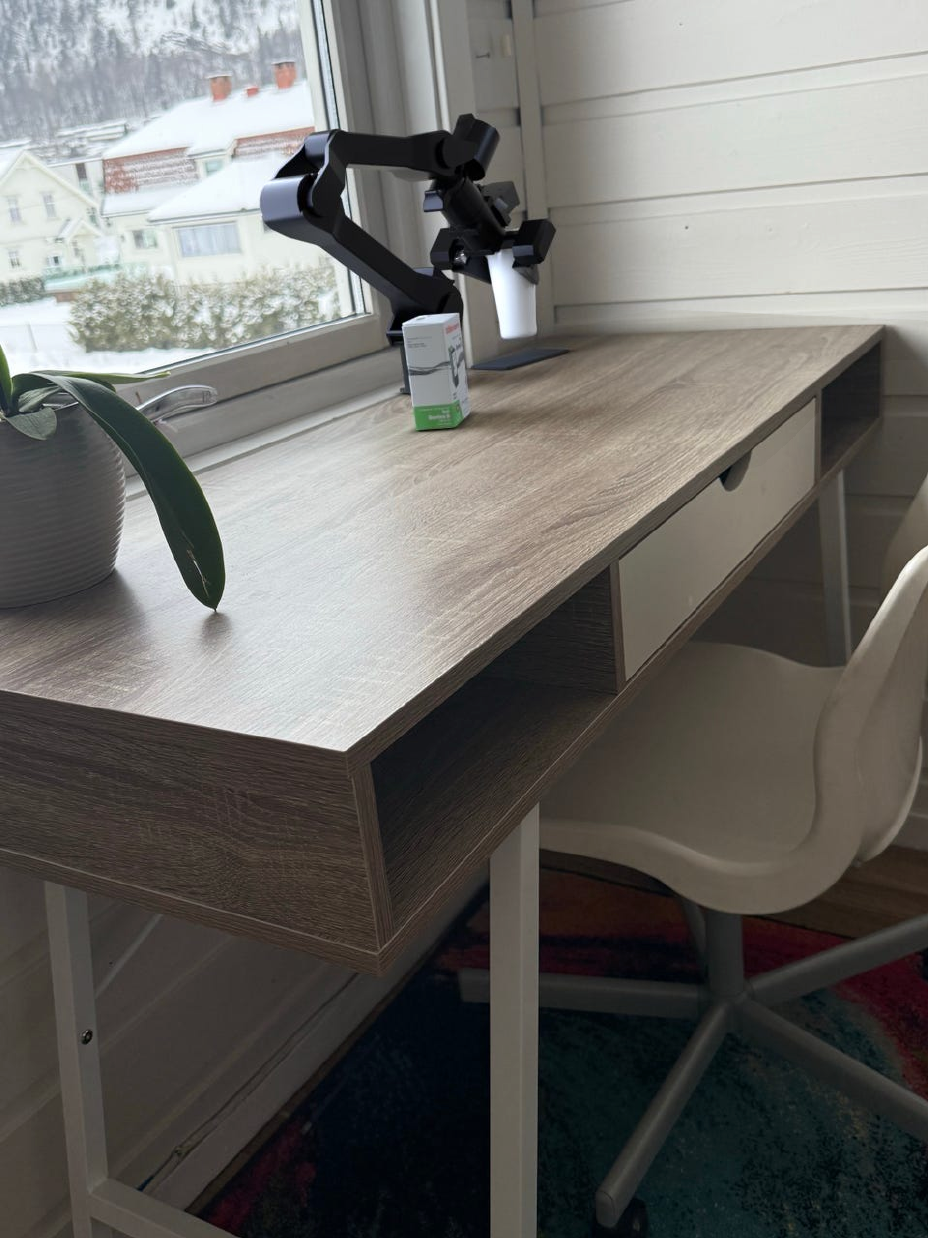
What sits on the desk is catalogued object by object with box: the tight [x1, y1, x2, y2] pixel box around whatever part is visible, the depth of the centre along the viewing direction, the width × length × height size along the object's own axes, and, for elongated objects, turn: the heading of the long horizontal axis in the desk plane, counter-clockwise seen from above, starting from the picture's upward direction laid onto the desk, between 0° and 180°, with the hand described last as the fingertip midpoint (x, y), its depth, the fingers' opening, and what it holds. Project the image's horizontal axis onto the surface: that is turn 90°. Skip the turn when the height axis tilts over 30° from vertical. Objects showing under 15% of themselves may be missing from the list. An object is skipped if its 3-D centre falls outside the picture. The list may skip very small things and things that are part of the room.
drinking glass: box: [486, 227, 538, 340], centre depth 165 cm, size 7×7×15 cm
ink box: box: [402, 313, 471, 431], centre depth 130 cm, size 9×5×12 cm, turn 168°
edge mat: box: [470, 348, 570, 371], centre depth 169 cm, size 14×7×1 cm, turn 136°
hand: (518, 283), depth 166 cm, fingers closed on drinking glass, 6 cm apart
